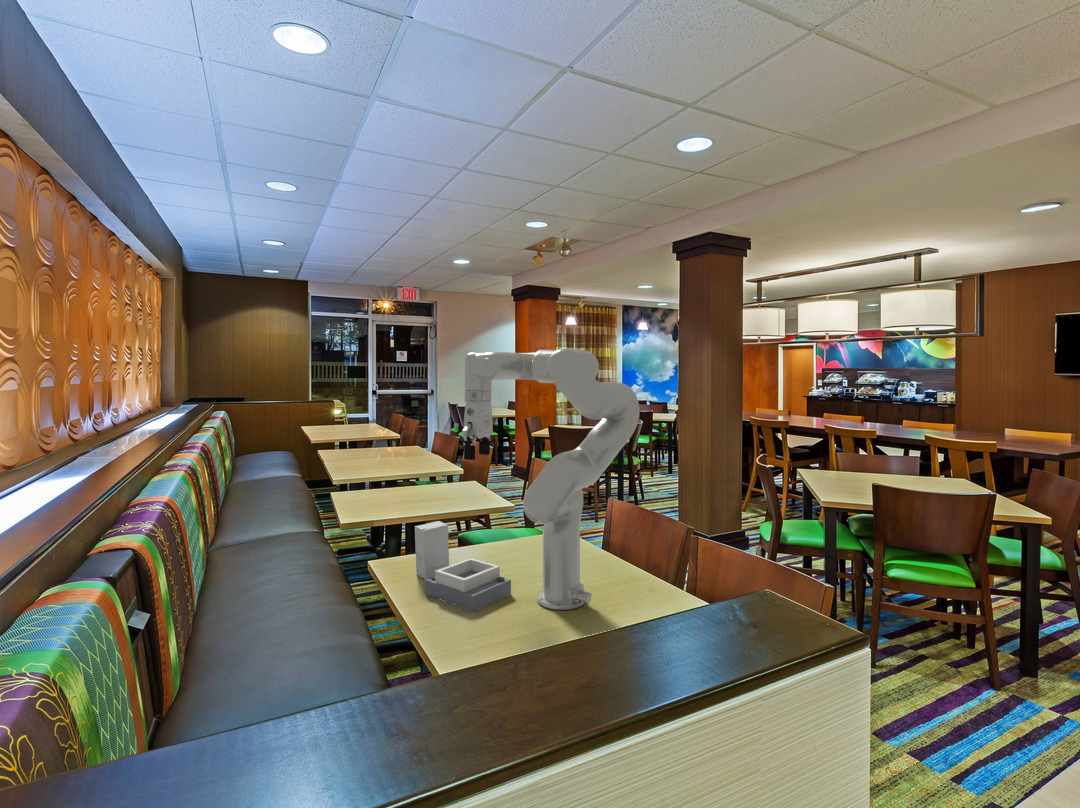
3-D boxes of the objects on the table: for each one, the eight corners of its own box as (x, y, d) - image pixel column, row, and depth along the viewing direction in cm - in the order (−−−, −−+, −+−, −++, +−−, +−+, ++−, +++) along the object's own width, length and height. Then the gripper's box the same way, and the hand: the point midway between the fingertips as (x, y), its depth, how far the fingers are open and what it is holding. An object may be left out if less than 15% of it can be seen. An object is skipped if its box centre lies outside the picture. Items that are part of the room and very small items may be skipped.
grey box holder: (511, 594, 149) (510, 568, 149) (473, 612, 138) (472, 584, 138) (463, 579, 161) (463, 555, 160) (425, 594, 150) (424, 568, 149)
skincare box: (440, 568, 169) (439, 520, 169) (450, 574, 165) (449, 524, 164) (414, 575, 164) (413, 525, 163) (424, 581, 159) (423, 529, 159)
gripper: (477, 399, 149) (476, 463, 150) (502, 395, 165) (501, 453, 166) (451, 397, 151) (450, 460, 153) (478, 394, 168) (478, 451, 169)
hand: (477, 457), depth 159 cm, fingers open, 9 cm apart
